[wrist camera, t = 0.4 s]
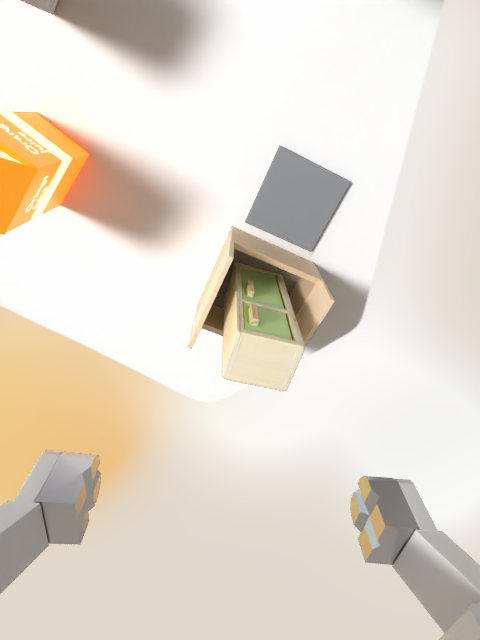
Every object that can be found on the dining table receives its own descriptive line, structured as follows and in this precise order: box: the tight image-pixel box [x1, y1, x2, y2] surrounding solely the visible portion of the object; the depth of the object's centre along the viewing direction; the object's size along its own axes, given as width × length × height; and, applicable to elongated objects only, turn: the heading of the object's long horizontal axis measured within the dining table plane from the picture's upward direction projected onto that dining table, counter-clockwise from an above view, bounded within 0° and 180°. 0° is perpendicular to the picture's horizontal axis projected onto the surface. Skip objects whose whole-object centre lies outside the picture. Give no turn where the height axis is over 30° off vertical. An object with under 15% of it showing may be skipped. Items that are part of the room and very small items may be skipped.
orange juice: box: [0, 111, 89, 234], centre depth 39 cm, size 8×9×20 cm
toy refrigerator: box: [222, 262, 305, 391], centre depth 48 cm, size 8×7×21 cm
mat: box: [245, 146, 350, 252], centre depth 51 cm, size 11×11×1 cm
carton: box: [188, 227, 335, 349], centre depth 52 cm, size 14×14×13 cm
